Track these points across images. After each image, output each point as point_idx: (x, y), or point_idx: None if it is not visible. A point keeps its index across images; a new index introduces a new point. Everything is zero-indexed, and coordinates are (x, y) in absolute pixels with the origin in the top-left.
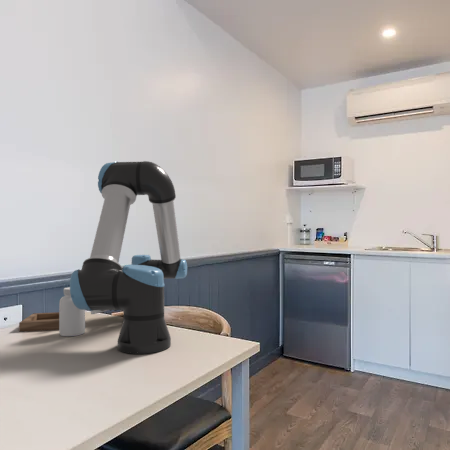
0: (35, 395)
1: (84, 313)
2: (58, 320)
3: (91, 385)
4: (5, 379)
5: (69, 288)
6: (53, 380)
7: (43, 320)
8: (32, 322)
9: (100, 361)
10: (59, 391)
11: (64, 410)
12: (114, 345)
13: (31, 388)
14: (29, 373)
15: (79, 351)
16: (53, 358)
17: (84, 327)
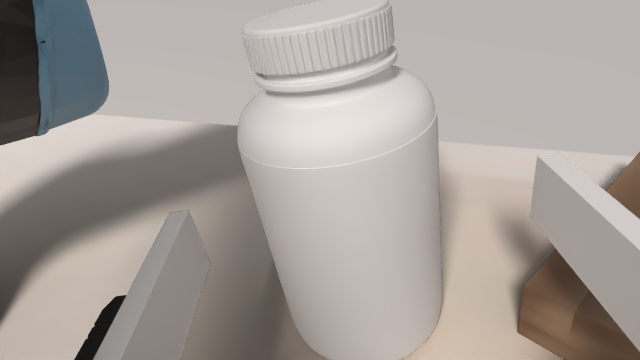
0: (88, 133)
1: (273, 247)
2: (563, 259)
3: (3, 173)
4: (184, 122)
5: (318, 6)
6: (91, 151)
7: (634, 212)
8: (617, 178)
9: (23, 221)
10: (56, 148)
11: (20, 141)
12: (15, 316)
13: (111, 133)
14: (162, 140)
15: (134, 222)
16: (175, 175)
17: (296, 320)
